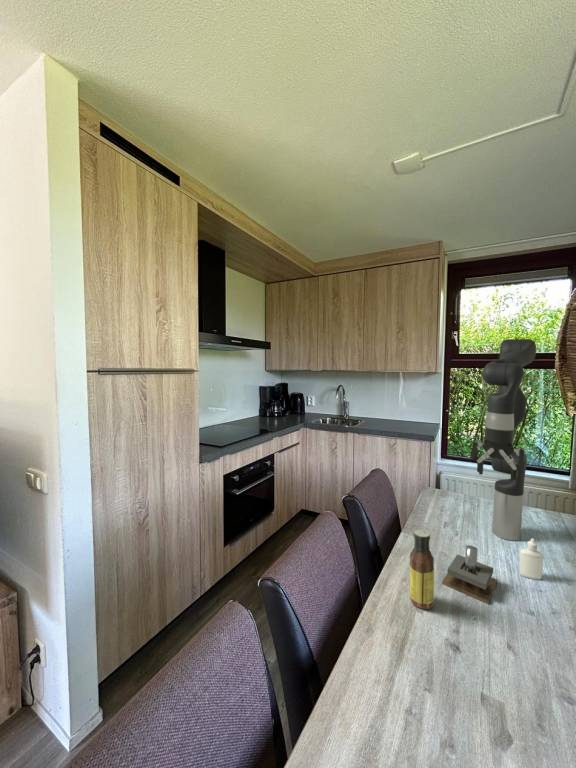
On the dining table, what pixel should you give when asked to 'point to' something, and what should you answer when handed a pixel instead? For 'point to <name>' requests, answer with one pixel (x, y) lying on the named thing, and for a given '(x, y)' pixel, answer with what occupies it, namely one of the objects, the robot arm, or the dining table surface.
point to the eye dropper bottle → (531, 561)
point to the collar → (477, 580)
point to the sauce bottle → (421, 571)
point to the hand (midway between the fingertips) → (496, 477)
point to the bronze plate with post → (467, 587)
